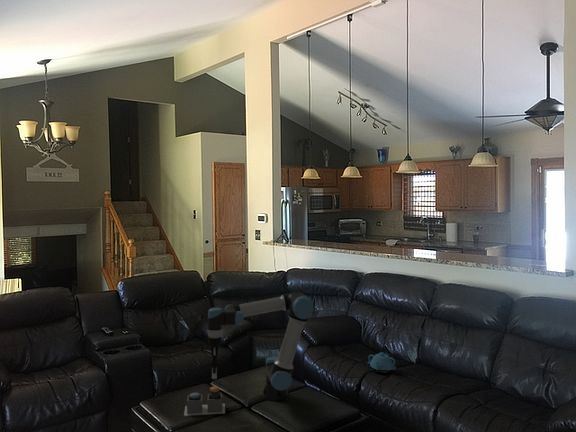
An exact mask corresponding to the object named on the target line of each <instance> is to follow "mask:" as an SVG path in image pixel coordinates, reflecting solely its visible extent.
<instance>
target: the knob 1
mask: <svg viewBox="0 0 576 432" xmlns="http://www.w3.org/2000/svg"><path fill="white" fill-rule="evenodd" d="M189 395H190V398H191V400H199V397H200V392H192V393H190V394H189Z"/></svg>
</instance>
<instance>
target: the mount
mask: <svg viewBox="0 0 576 432" xmlns="http://www.w3.org/2000/svg"><path fill="white" fill-rule="evenodd" d="M199 394H200V393H199ZM186 398H187V399H186V405H185V406H184V411H183V412H184V413H183V416H184V417H186V416H187V417H188V416H200V415H204V416H205V415H219V414H226V404H225V403H223V393H221V392H219V399H211V393H207V404H203V394H202V393H201V394H200V397H199V400H191V398H190V394H187V397H186Z"/></svg>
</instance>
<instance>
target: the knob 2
mask: <svg viewBox="0 0 576 432" xmlns="http://www.w3.org/2000/svg"><path fill="white" fill-rule="evenodd" d="M209 391H210V394H211V399H219V393H220V391H221V388H220V386H211V387H210V388H209Z"/></svg>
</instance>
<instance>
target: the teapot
mask: <svg viewBox="0 0 576 432" xmlns="http://www.w3.org/2000/svg"><path fill="white" fill-rule="evenodd" d="M371 357H372V358H371ZM395 363H396V359H395V358H393V357H390V356H389V355H388V354H386V353H384V352H379V353H376V354H375V355H374V354H370V355H368V362H367V363H366V364H370V366H371V367H372V368H374V369H376V370H392V371H396V370H397V367H396V364H395ZM370 366H369V367H370Z"/></svg>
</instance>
